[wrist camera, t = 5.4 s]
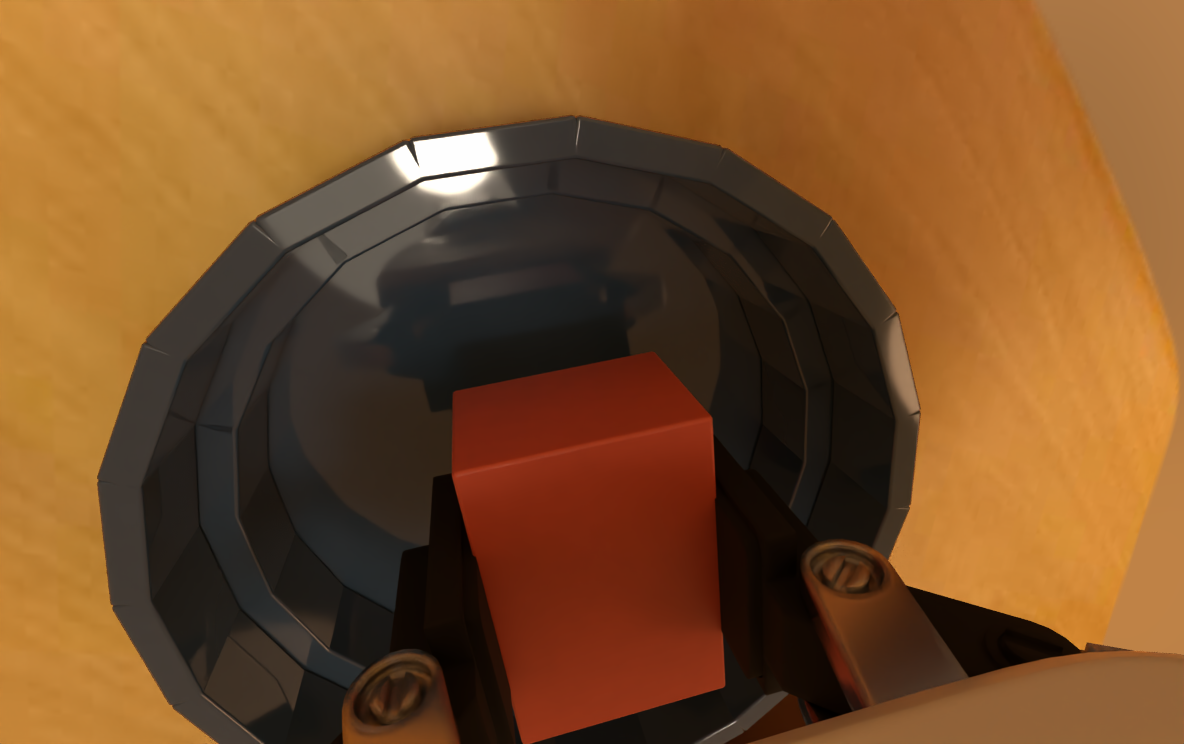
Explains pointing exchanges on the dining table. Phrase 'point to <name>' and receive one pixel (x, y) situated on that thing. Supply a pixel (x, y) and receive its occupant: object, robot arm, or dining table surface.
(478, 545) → the block
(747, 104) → the dining table surface
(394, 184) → the bowl
